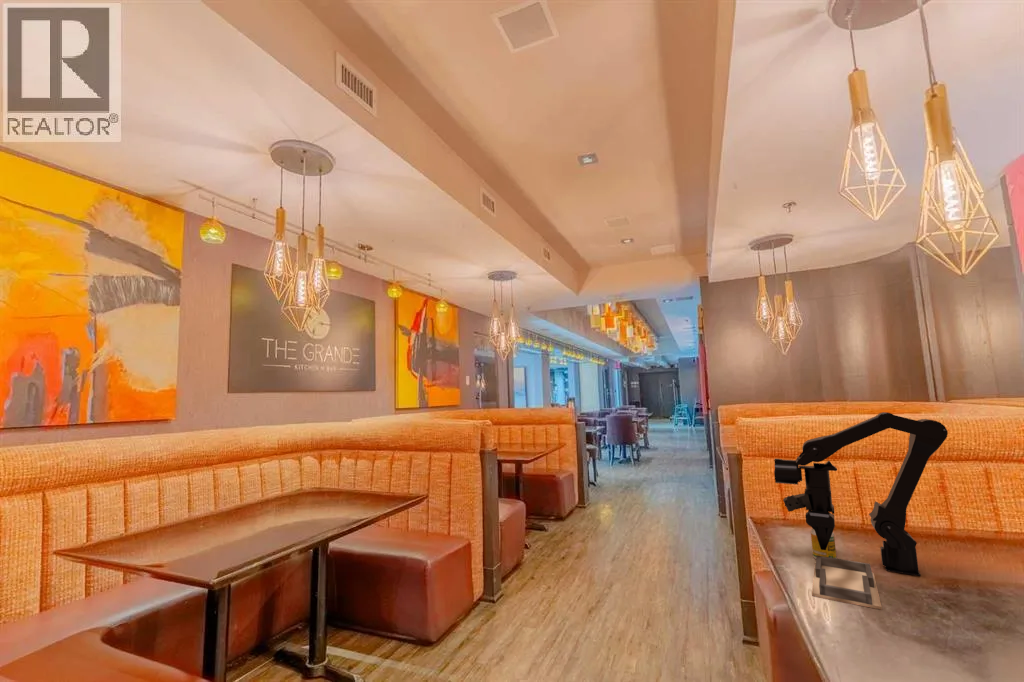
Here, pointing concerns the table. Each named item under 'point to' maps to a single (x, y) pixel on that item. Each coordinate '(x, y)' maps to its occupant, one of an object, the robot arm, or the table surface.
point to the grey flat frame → (845, 582)
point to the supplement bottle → (817, 550)
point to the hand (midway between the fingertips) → (823, 545)
